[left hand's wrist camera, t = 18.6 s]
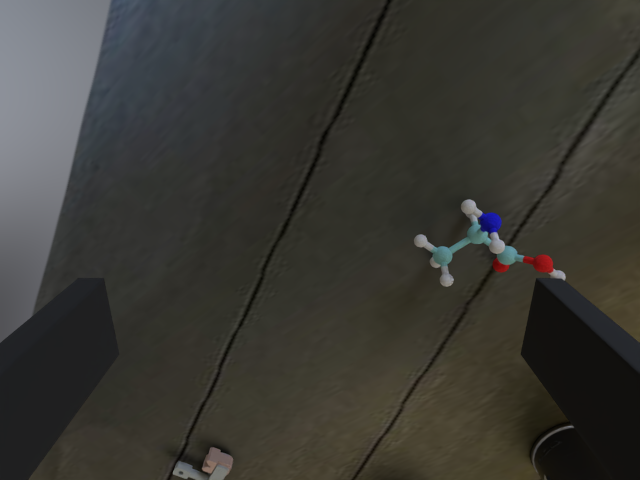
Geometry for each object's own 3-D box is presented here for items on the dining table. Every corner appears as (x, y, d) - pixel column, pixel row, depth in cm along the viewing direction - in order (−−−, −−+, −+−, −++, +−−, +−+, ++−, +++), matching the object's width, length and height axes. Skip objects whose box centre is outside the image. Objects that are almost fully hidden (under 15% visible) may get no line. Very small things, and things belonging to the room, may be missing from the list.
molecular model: (428, 322, 42) (478, 318, 33) (396, 233, 44) (435, 205, 34) (524, 288, 45) (598, 275, 35) (490, 205, 46) (553, 171, 36)
